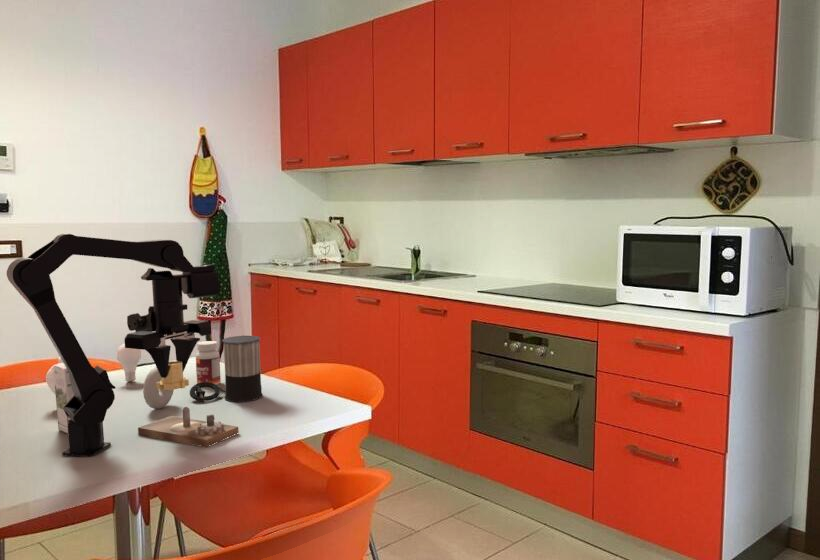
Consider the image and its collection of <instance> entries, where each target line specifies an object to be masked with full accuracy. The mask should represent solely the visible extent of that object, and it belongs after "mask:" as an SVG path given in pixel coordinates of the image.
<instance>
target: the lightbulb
mask: <svg viewBox="0 0 820 560" xmlns="http://www.w3.org/2000/svg"><path fill="white" fill-rule="evenodd" d="M115 354H116V360H117V361H118V363H119V364H120V365H121V366H122V370H123V371H124V374H125V375H124V378H125V380H124V381H125V382H128V383H133V382H134V381H136V377H137V375H136V371H137V366H138V363H139V362H140V360H141V358H142V349H131V348H125V342H124V343H123V344H121V345H119V346H118V348H117V350H116V353H115Z"/></svg>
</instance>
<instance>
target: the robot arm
mask: <svg viewBox="0 0 820 560" xmlns="http://www.w3.org/2000/svg"><path fill="white" fill-rule="evenodd" d="M72 256H85V257H99V258H108V259H120V260H131V261H134V262H138V263H142V264H146V265H150V266H154V267H158V268H162V269H163V268H164V269H169V270H159V271H156V270H155V269H154V268H153V267H149V268H147V270H146V272H145V273H144V274H143V275H141V276H140V279H141V280H143V281H147V282H148V281H149V282H150V281H151V285H152V301H153V303H152V305H149V307H148V310H147V312H148V313H147V314H144V315H140V313H138V312H137V313H131V314H128V315H127V318H126V319H127V321H126V324H127V329H128V331H131V332H129V333H127V334H126V335H125V336H124V343H125V348H131V349H141V351H142V350H143V351H146V352H147V353H148V354H149V355H150V357H151V358H152V360H153V362H154V365H155V367H157V369H158V371H159V374H160V376H161V377H162V378H166V376H167V372H168V364H169V361H170V354H171V349H172V348H171V347H172V346H171V345H166V340H170V341H171V342H172V344H173V346H174V349H175V350H174V351H175V361H181V362H182V368H183V372H184V371H185V369H186V366H187V364H188V362H189V359H190V357H191V356H192V353H193V351H194V348H195V347H196V345H197V343H199V342H201V338H200V337H196V335H195V334H199V336H201V337H204V336H209V335H211V334H212V325H211V324H210V322H209V321H208V320H197V319H196V320H195V319H193V320H187V321H184V317H185V316H184V311H185V310H188V304H185V303H183V301H184V300H183V294H184V295H186V296H187V297H188V298H189V299H197V298H200V299H201V298H207V297H216V296H218V295H219V293H220V291H221V281H220V279H219V276H218V274H217V271H216V270H215V269H216V268H215V265H214V264H204V265H200V266H199V265H198V266H193V264H192V263H191V262H190V260H189V259H187V257H186V256H185V255H184V250H183V247H182V246H181V245H180V243H179V242H178V241H175V240H171V239H148V240H137V241H136V240H135V241H129V240H128V241H127V240H121V239H120V240H119V239H109V238H102V237H101V238H99V237H91V236H90V237H89V236H79V235H74V234H71V233H61V234H60V233H59V234H58V235H56V236H55V237H54V238H53V239H52V240H51V241H49V242H48V243H46V244H44V245H43V246H42V247H41V248H39V249H37V250H36V251H34V252H32V253H31V254H30V255H28V256H27V257H20V258H17V259H15V260H13V261H12V262H10V264H9V265H8V267H7V269H6V278H7V280H8V282H9V283H10V284H11V285H12V286H13V288H14V289H15V290H16V291H17V292H18V293H19V295H20V297H22V298H23V300H25V301H26V302H27V303H28V304H29V306H30V307H31V308H32V310H34V313H35V314H36V316H37V318H38V320H39V321H40V324H41V325H42V328H43V330H45V332H46V334H47V336H48V338H49V339H50V341H51V343H52V345H53V347H54V348H55V350H56V352H57V354H58V356H59V358H60V357H61V359H62V361H63V363H64V364H65V366H66V368H67V370H68V373H69V377H70V382H71V386H72V389H73V393H74V396H73V397H72V398H71V399H70V400H69V402H68V403H67V404H66V405H65V406H64V407H63V410H64V412H65V414H66V416H67V417H69V418H70V419H71V420H69V423H68V434H67V436H68V437H67V439H68V448H67V449H66V450H64V451H62V452H61V455H62V456H77V457H78V456H80V457H81V456H83V457H85V456H86V457H93V456H95V455H96V454H99V453H101V452H102V451H103V450H105V449H107V448H109V447H110V446H112V442H110V441H107V442H106V441H105V439H104V438H105V437H104V436H105V435H104V425H103V424H104V420H105V418H106V414H107V411H108V410H109V409H110V408H111V407H112V406H113V403H114V401H115V399H116V398H115V397H116V396H115V392H114V390H115V389H117V388H116V386H115V385H113V384H112V382H111V380H110V377H109V375H108V372H107V370H106V369H104V368H103V367H102V366H99V365H96V366H92V364H91V363H90V361H89V359H88V358H87V356H86V353H85V352H84V350H83V348H82V346H81V345H80V343H79V341H78V339H77V337H76V335H75V333H74V332H73V330H72V328H71V325H70V324H69V322H68V321H67V319H66V317H65V315H64V313H63V311H62V310H61V308H60V306H59V304H58V303H57V301H56V300H57V299H56V295H55V289H54V285H53V283H52V280H51V276H50V275H51V274H52V273H54V272H55V271H56V270H58V269H59V268H60V267H61V266H62V265H63V264H64V263H65V262H66V261H67V260H68V259H70V258H71V257H72ZM170 270H171V271H170ZM172 271H175V272H179V273H180V272H181V274H173V273H172ZM132 331H134V332H132ZM104 441H105V442H104Z"/></svg>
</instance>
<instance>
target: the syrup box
mask: <svg viewBox="0 0 820 560" xmlns="http://www.w3.org/2000/svg"><path fill="white" fill-rule="evenodd" d="M52 366H53V370H54V383H55V394H56V395H55V394H54V395H55V404H56V405H55V406H56V416H57V417H56V418H57V429H58V431H60V432H62V433H64V434H67V435H68V423H69V420H71V419H70V418H69V417H67V416H66V414H65V412H64V410H63V407H64V406H65V405H66V404H67V403H68V402H69V400H70V399H71V398H72V397H73V396H74V393H73V389H72V386H71V382H70V377H69V373H68V370H67V368H66V366H65V364H64V363H60V364H59V363H56V364H53V365H52Z"/></svg>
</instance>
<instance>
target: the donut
mask: <svg viewBox="0 0 820 560" xmlns="http://www.w3.org/2000/svg"><path fill="white" fill-rule="evenodd" d="M160 380H161V376H160V374H159V371H158V369H157V367H156V366H155V367H154V368H152V369H150V370H149V372H148V374H146V377H145V379H144V382H143V387H142V388H143V389H142V391H143V398H144V401H145V403H146V405H148V407H149V408H150V409H151V408H152V409H154V410H161V409H163V408H164V407H167V405H168V404H169V403H170V402H171V399H172V397H173V395H174V394H173V393H174V390H159V389H157V385H156V382H160Z"/></svg>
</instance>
